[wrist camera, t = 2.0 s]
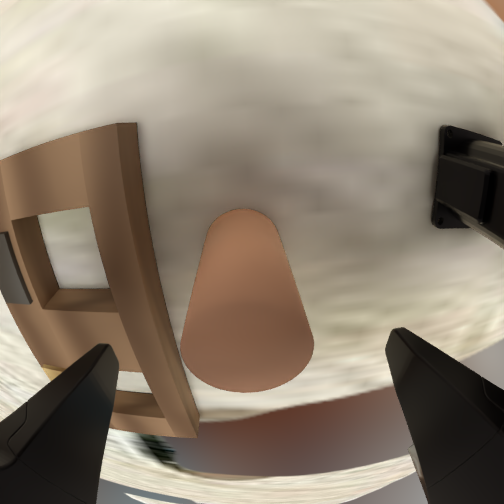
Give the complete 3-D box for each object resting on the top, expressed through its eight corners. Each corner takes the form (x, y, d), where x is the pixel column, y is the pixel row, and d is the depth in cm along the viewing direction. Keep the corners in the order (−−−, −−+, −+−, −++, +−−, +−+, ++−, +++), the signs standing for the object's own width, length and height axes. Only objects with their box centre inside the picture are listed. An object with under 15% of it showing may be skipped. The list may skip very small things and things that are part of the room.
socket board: (136, 122, 12) (112, 123, 9) (199, 416, 22) (197, 441, 20) (-9, 166, 12) (-36, 177, 9) (90, 404, 22) (82, 425, 19)
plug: (279, 207, 14) (320, 295, 7) (279, 274, 16) (307, 387, 9) (202, 211, 14) (167, 303, 7) (209, 278, 16) (193, 393, 9)
